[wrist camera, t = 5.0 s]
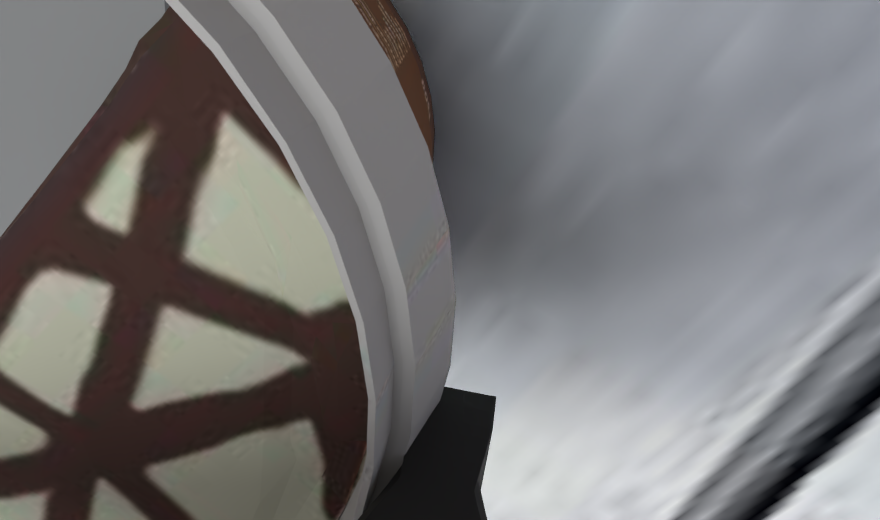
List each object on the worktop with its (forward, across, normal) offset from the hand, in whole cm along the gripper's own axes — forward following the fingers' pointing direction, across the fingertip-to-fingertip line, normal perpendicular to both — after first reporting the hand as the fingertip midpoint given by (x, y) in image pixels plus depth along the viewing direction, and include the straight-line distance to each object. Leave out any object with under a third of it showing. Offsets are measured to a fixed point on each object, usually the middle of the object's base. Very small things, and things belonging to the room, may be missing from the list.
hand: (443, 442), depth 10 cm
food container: (+8, +4, 0) cm, 8 cm away
